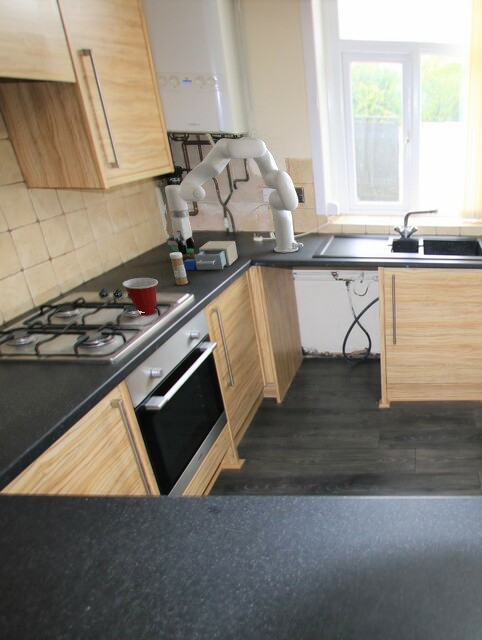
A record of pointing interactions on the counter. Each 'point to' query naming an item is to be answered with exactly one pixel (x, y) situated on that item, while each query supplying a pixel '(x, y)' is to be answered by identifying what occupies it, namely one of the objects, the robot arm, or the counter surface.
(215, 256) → the grey drawer
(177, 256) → the sprinkles bottle
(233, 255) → the cream drawer box
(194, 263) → the blue cube
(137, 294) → the plastic cup
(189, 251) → the food container
